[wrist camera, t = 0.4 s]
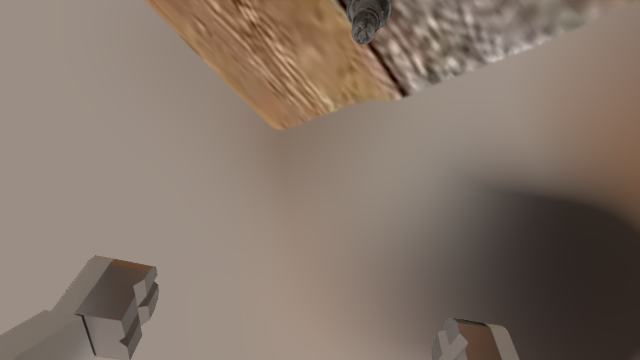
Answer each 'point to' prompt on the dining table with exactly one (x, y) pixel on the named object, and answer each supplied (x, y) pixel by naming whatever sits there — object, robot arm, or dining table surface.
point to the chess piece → (367, 18)
